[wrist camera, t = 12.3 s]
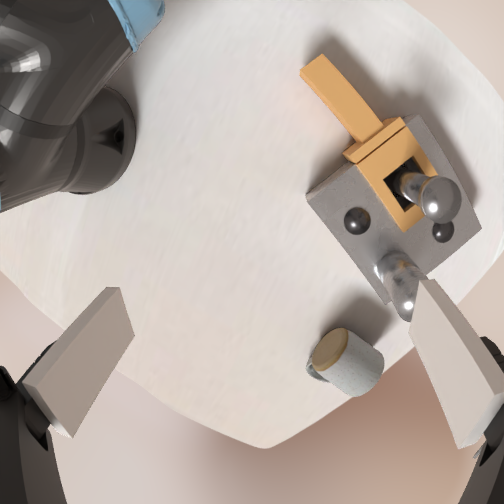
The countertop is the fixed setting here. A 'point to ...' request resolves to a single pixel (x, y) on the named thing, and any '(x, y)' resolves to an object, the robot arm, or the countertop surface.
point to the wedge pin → (427, 193)
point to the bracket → (369, 137)
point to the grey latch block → (392, 226)
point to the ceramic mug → (346, 362)
